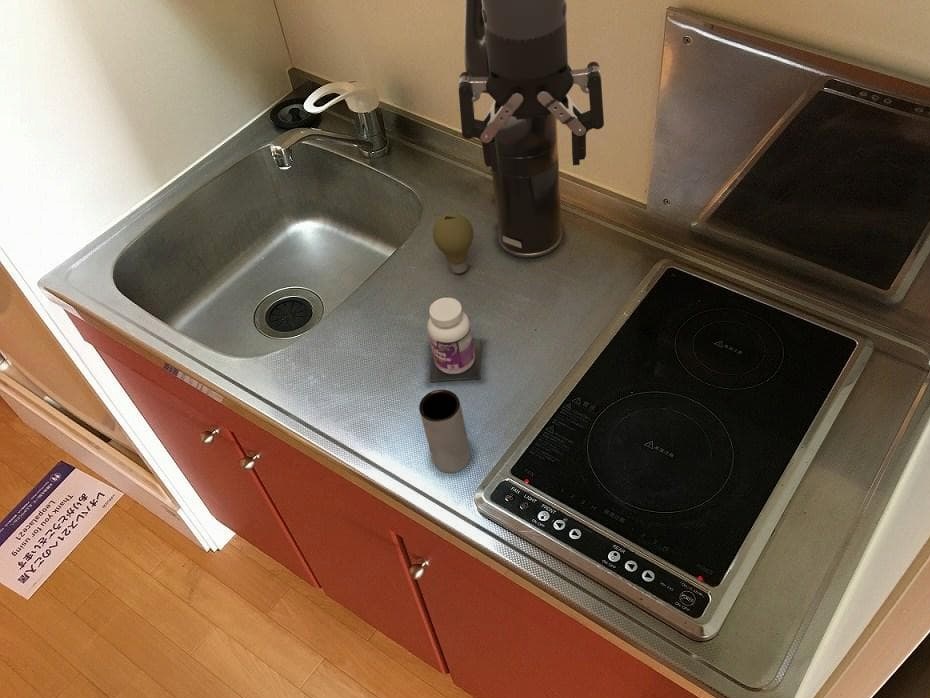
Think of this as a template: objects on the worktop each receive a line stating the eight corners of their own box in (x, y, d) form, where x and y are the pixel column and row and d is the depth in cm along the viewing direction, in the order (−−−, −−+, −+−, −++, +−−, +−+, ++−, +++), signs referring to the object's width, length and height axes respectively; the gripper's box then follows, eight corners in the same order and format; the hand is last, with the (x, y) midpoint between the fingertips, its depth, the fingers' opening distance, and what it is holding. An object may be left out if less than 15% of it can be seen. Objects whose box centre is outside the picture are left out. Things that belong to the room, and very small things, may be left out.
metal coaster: (432, 345, 110) (432, 343, 109) (480, 342, 109) (480, 340, 109) (430, 382, 105) (429, 380, 105) (480, 379, 105) (480, 377, 105)
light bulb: (445, 288, 116) (434, 234, 108) (436, 263, 120) (425, 209, 112) (483, 279, 117) (475, 224, 109) (473, 254, 120) (465, 199, 113)
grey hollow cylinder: (450, 435, 100) (438, 382, 92) (478, 454, 98) (468, 401, 90) (425, 461, 98) (410, 408, 90) (453, 480, 96) (440, 428, 88)
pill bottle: (427, 368, 107) (414, 316, 99) (448, 340, 109) (437, 288, 102) (463, 381, 105) (452, 329, 97) (483, 352, 107) (474, 300, 100)
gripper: (600, -12, 76) (600, 138, 89) (448, 0, 77) (469, 147, 90) (606, 29, 71) (605, 181, 84) (444, 42, 72) (467, 190, 85)
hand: (535, 163), depth 87 cm, fingers open, 8 cm apart
